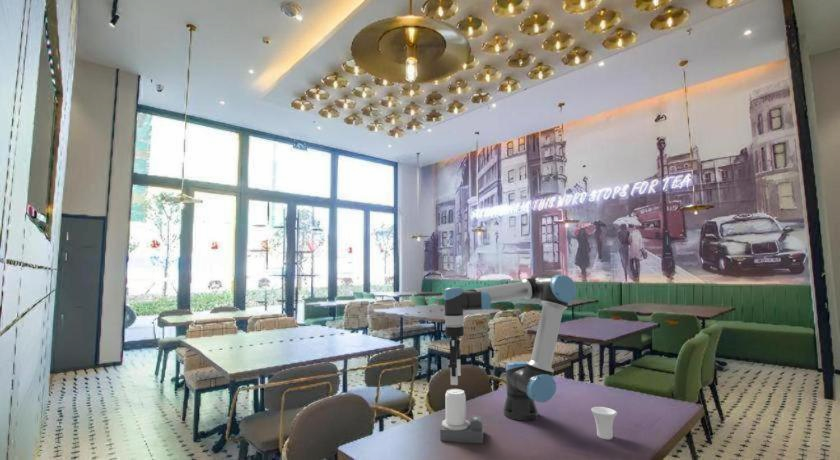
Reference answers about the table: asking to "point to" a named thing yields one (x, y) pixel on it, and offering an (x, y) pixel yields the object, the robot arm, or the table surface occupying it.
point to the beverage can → (455, 407)
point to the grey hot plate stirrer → (463, 431)
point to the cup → (604, 421)
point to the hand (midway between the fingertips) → (455, 379)
